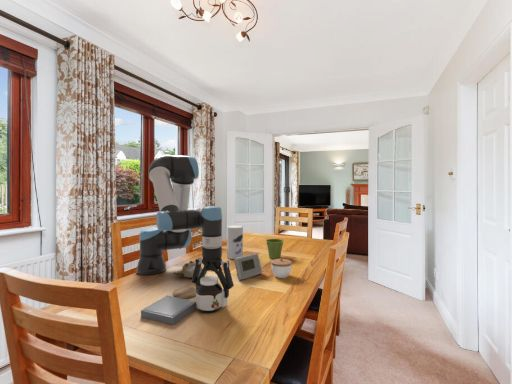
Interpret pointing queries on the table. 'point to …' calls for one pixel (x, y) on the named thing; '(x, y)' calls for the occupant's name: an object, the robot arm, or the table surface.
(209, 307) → the spread jar
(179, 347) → the table surface
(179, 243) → the robot arm
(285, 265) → the lidded jar
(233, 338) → the table surface
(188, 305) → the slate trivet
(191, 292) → the oak coaster
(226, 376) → the table surface
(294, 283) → the table surface
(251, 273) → the digital clock
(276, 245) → the plant pot
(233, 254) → the container
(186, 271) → the ceramic sculpture
